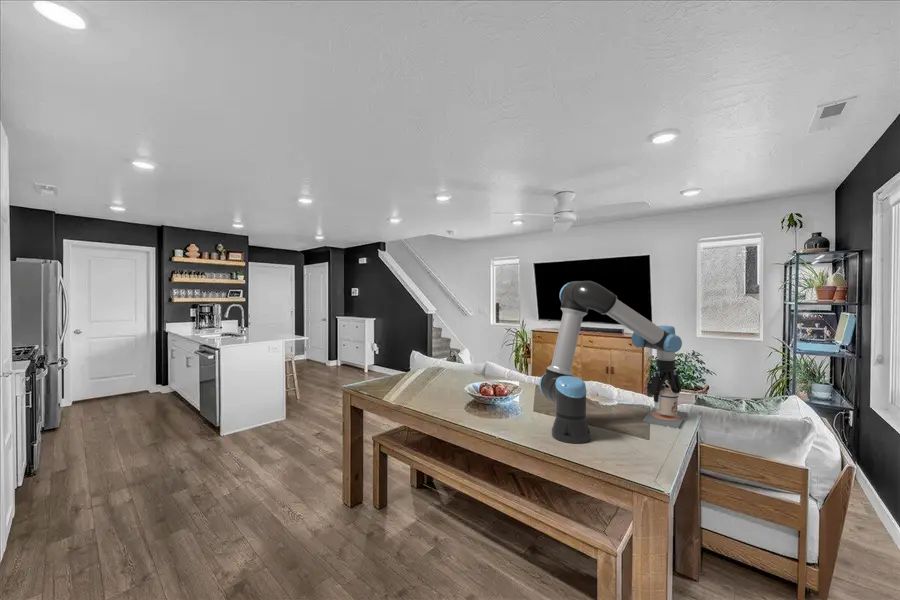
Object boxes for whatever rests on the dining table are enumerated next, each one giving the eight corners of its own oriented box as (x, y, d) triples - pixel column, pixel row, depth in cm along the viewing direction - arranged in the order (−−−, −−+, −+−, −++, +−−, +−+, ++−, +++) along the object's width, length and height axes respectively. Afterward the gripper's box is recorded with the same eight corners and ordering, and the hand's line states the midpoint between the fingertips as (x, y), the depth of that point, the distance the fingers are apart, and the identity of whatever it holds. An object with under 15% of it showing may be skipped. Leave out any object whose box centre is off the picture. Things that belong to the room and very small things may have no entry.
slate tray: (678, 428, 162) (678, 426, 162) (642, 421, 171) (642, 419, 171) (687, 414, 181) (687, 412, 181) (654, 409, 190) (654, 406, 190)
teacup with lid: (676, 417, 169) (676, 391, 169) (653, 413, 175) (654, 387, 175) (680, 411, 178) (680, 387, 178) (658, 407, 184) (659, 383, 184)
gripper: (676, 356, 183) (676, 403, 183) (640, 359, 176) (640, 407, 176) (690, 359, 176) (690, 407, 176) (654, 362, 169) (654, 412, 169)
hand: (665, 407), depth 176 cm, fingers closed on teacup with lid, 9 cm apart
